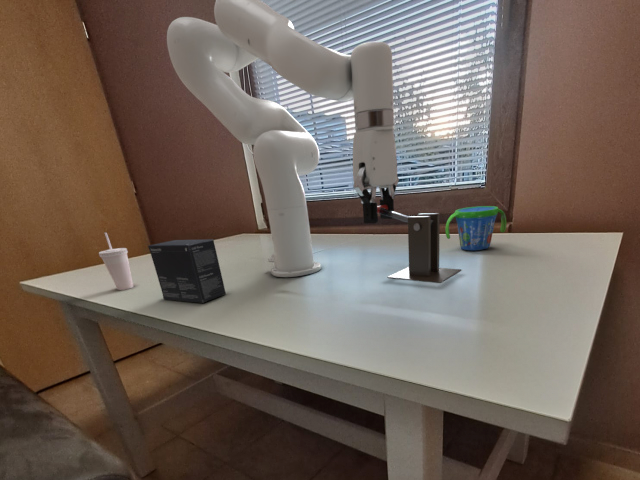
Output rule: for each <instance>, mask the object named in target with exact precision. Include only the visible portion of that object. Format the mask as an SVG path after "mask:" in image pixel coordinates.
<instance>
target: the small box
mask: <svg viewBox="0 0 640 480" xmlns="http://www.w3.org/2000/svg"><path fill="white" fill-rule="evenodd" d="M147 247H148V250H149V254H150V256H151V260H152V263H153V266H154V270H155V273H156V276H157V279H158V280H157V281H158V283H159V287H160V289H161V290H160V291H161V293H162V298H163V300H166V301H177V302H187V303H189V302H190V303H201V304H204V303H206V302H209V301H212V300H214V299H217V298H219V297H221V296H224V295H226V294H227V293H226V288H225V284H224V279H223V275H222V272H221V267H220V263H219V262H220V261H219V258H218V254H217V253H218V252H217V250H216V244H215V240H214V239H212V238H211V239H174V240H169V241H168V240H167V241H164V242H159V243H154V244H150V245H147Z"/></svg>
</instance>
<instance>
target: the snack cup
mask: <svg viewBox="0 0 640 480" xmlns="http://www.w3.org/2000/svg"><path fill="white" fill-rule="evenodd" d="M498 213H499V214H500V229H499V232H500V233H502V234H503V233H505V231H506V230H507V217H506V213H505V211H503V210H502V209H500V208H499V207H498V206H494V205H493V206H492V205H479V206H469V207H463V208H458V209H456V210H455V211H454V213H452V214H451V215H450V216H449V217H448V219H447V220H446V223H445V229H444V231H445V237H446V239H447V240H450V239H451V235H450V234H451V233H450V223H451V222H452V221H453V219H454V218H455V220H456V224H457V231H458V232H457V233H458V239H459V240H458V241H459V246H460V249H461V250H463V251H473V252H475V251H482V250H487V249H489V248H490V246H491V242H492V238H493V233H494V228H495V223H496V219H497V216H498Z"/></svg>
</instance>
